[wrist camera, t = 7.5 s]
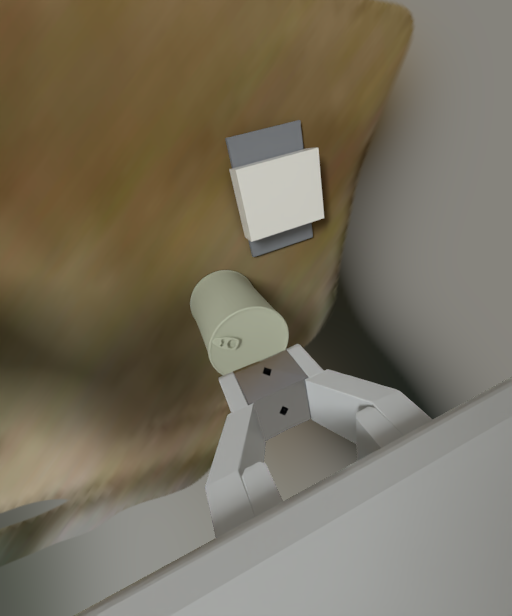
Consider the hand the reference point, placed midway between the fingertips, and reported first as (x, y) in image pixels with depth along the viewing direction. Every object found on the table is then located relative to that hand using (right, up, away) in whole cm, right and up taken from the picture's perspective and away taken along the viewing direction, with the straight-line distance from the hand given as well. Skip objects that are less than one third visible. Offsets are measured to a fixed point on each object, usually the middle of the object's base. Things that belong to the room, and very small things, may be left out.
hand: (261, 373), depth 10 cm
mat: (+2, +17, +27) cm, 31 cm away
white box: (-2, +14, +24) cm, 28 cm away
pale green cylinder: (-5, +3, +31) cm, 31 cm away
